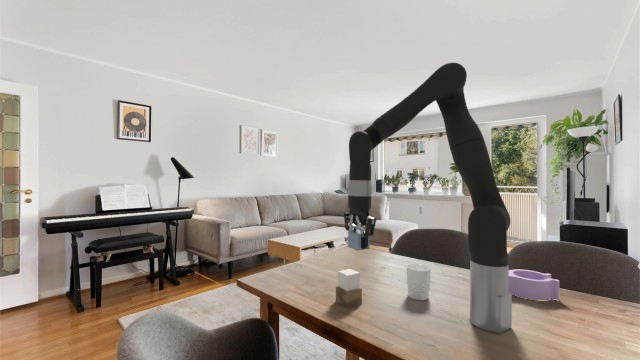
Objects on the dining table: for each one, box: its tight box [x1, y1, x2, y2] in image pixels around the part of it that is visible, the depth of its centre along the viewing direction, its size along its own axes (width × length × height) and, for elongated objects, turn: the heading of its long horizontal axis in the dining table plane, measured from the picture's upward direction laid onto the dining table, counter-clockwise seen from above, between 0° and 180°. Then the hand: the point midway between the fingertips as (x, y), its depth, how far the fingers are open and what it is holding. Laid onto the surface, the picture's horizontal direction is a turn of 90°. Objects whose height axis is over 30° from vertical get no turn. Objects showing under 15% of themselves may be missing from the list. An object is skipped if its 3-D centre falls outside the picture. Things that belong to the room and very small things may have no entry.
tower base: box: [335, 285, 363, 309], centre depth 96 cm, size 6×6×5 cm
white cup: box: [406, 263, 432, 301], centre depth 101 cm, size 8×8×10 cm
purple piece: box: [508, 268, 560, 301], centre depth 104 cm, size 20×12×7 cm, turn 71°
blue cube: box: [347, 229, 371, 251], centre depth 96 cm, size 5×5×5 cm
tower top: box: [337, 268, 361, 291], centre depth 96 cm, size 5×5×5 cm
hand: (358, 246), depth 96 cm, fingers closed on blue cube, 5 cm apart
